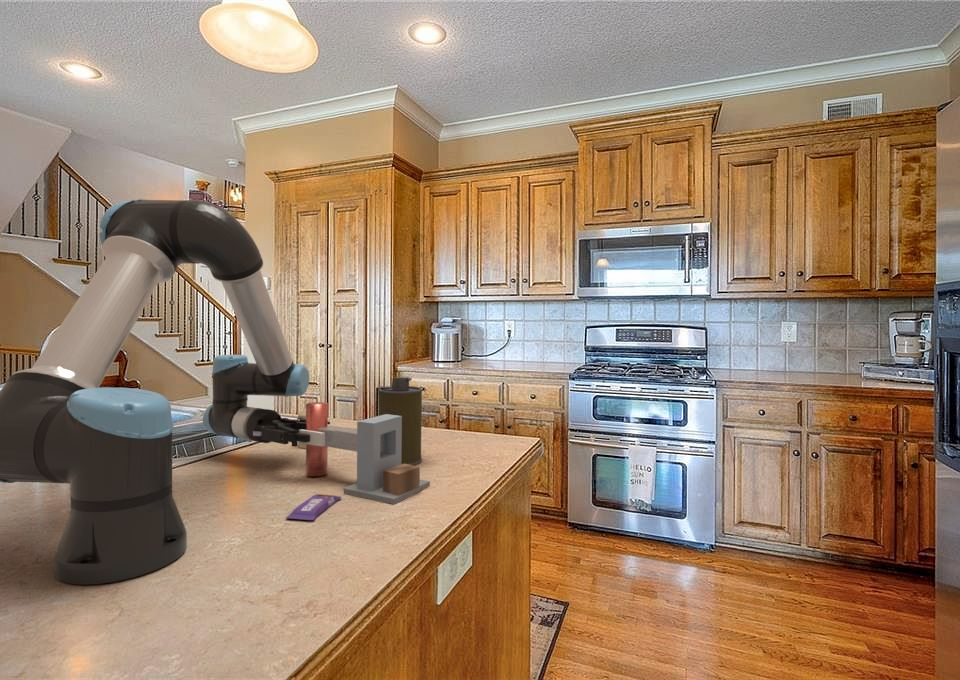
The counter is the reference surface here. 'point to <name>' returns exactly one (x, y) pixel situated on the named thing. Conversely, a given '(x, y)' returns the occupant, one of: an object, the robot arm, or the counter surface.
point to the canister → (404, 414)
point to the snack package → (313, 507)
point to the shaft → (327, 438)
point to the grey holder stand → (378, 458)
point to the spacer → (401, 479)
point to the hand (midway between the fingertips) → (334, 436)
